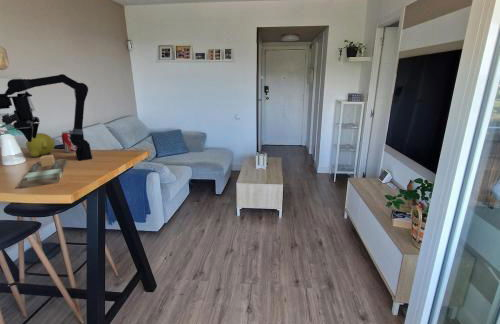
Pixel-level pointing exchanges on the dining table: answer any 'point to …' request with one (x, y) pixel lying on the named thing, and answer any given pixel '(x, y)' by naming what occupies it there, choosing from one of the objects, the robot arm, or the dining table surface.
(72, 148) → the soda can
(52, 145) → the sculpture
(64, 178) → the dining table surface
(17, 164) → the dining table surface
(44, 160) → the block
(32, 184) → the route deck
